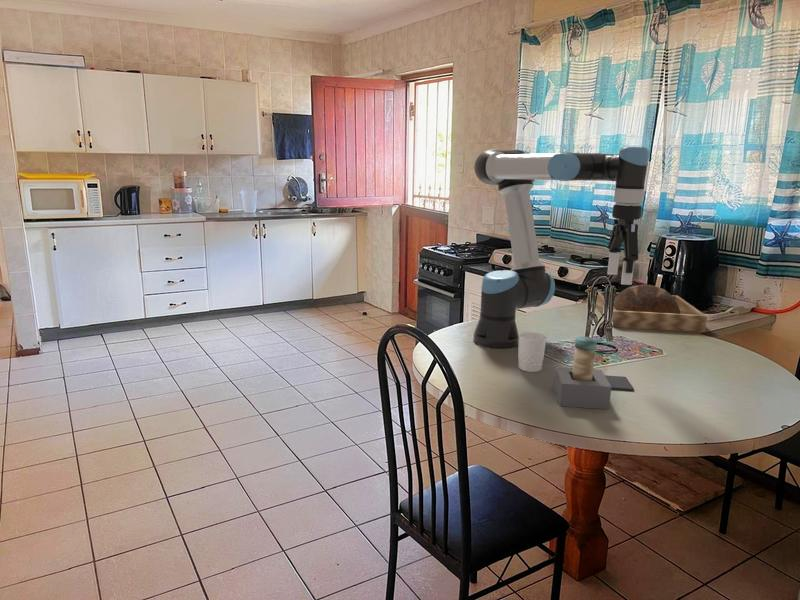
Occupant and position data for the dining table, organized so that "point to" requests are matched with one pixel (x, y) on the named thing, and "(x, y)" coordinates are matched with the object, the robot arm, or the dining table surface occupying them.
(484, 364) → the dining table surface
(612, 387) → the mat
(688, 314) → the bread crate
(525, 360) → the white cup
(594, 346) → the plug
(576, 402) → the socket
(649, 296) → the bread
